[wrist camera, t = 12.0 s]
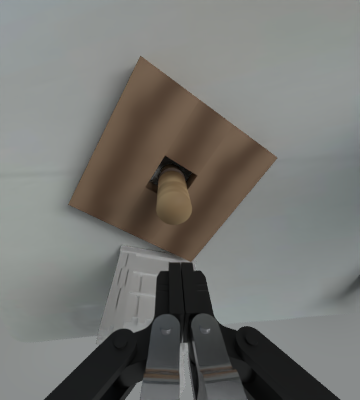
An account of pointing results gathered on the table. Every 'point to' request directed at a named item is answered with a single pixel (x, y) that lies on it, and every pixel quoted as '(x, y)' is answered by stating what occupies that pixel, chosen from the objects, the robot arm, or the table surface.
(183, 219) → the peg
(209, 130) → the board
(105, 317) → the castle model
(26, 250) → the table surface
